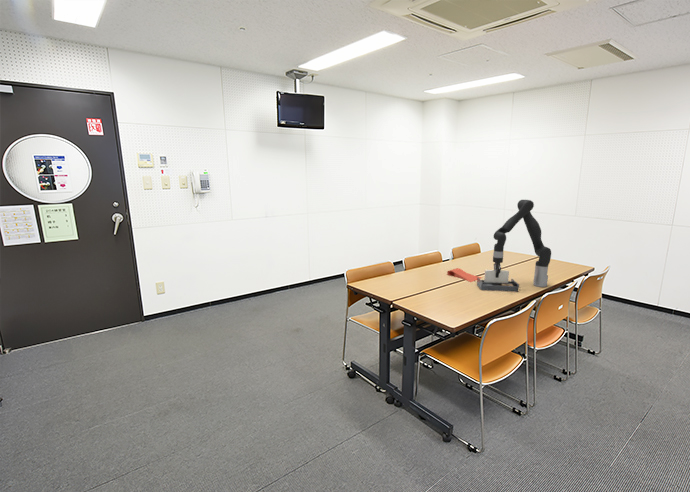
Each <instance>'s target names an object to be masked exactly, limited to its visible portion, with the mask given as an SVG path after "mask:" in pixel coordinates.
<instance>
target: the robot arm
mask: <svg viewBox="0 0 690 492" xmlns="http://www.w3.org/2000/svg"><path fill="white" fill-rule="evenodd" d="M534 207H535V204H534V202H533V200H531V199H520V200H519V201H518V202H517V209H518V211H517V212H516V213H514V215H512V216H511V217H509V218H508V219H507V220H506V222H504V223H503V225H502V226H500V227H499V228H498V229H497V230H496V231H495V232H494V233H493V239H494V240H496V243H495V244H494V245H493V246H494V247H493V255H492V262H493V270H496V278H498V277H499V273H500V271H501V270H502V267H501V264H502V263H503V262H504V248H505V247H504V246H505V244H506V241H507V235H506V234H507V233H508V234H509V233H510V232H511V231H512V230H513V229H514V228H515V226H516V225H517V224H518V223H519V222H520V221H521V220H522V219H523V222H524V225H525V227H526V230H527V233H528V236H529V237H530V240H531V242H532V246H533V249H534V252H535V254H536V256H538V260H537V261H535V266H534V275H533V283H532V285H533V286H534V287H538V288H547V287H548V281H549V280H548V279H549V275H548V270H549V265H550V262H551V258H552V250H551V249H550V247H547V246H545V245H544V243H543V241H542V229H541V227H540V224H539V222H538V220H537V219H536V218H535V217H534V216H533V214H532V212H531V211H532V210H533V208H534Z"/></svg>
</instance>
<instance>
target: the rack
mask: <svg viewBox="0 0 690 492" xmlns="http://www.w3.org/2000/svg"><path fill="white" fill-rule="evenodd" d="M501 284H512V285H513V286H501ZM476 286H477V287H478V288H479V289H480V291H494V292H495V291H496V292H515V293H518V292H519V290H520V289H519V288H520V284H519V283H518V282H516V280H514V279H513V278H511V279H510V280H508V283H496V282H484V279H479V278H477V280H476Z"/></svg>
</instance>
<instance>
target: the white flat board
mask: <svg viewBox="0 0 690 492" xmlns="http://www.w3.org/2000/svg"><path fill="white" fill-rule="evenodd" d="M509 276H510V271H509V270H503V269H501V271H500V273H499V277H498V278H496V270H494V269H484V279H483V280H484V282H496V283H508V281H509V278H510V277H509Z"/></svg>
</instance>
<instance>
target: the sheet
mask: <svg viewBox="0 0 690 492" xmlns="http://www.w3.org/2000/svg"><path fill="white" fill-rule="evenodd" d="M446 273H447V275H448V276H449V277H451V276H452V277H453V278H454V277H455V278H460V279H462V280H465V281H467V282H470V283H472V282H476V281H477V278H479V279H480V280H482V279H483V277H482V276H478V275H474V274H471V273H468V272H467V271H464V270H463V269H461V268H459V267H457V268H453V269H450V270H447V271H446Z"/></svg>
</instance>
